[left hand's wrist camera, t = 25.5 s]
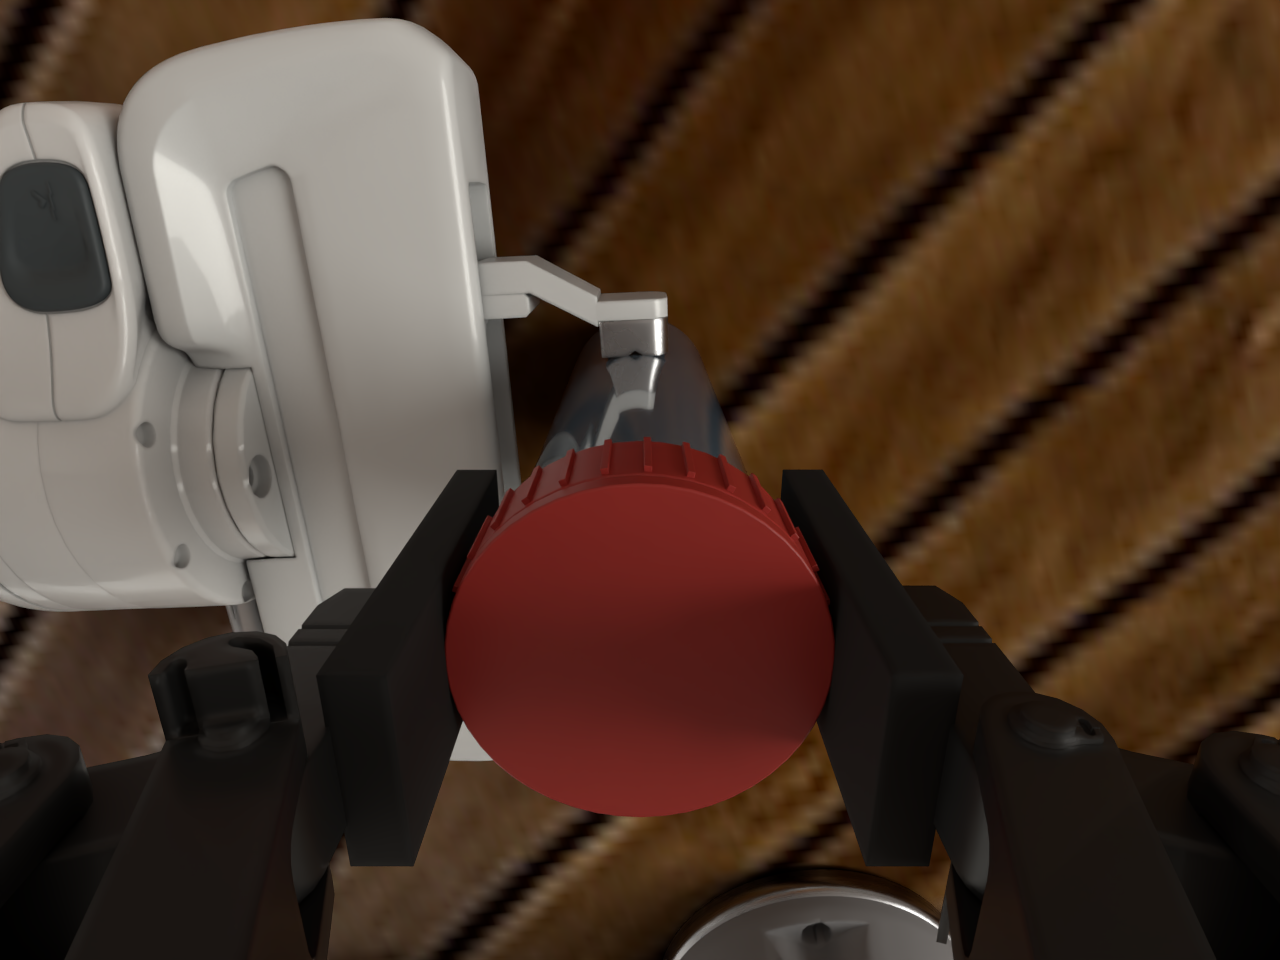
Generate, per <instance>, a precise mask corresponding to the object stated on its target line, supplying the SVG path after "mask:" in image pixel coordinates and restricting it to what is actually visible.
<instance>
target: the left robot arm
mask: <svg viewBox="0 0 1280 960" xmlns="http://www.w3.org/2000/svg"><path fill="white" fill-rule="evenodd" d="M781 501H782V503H783V505H784V507H785V509H786V511H787V513H788V515H789V517H790V519H791V521H792V523H793V526H794V528H796V527H799V529H800V531H801V533H802V535H803V537H804V539H805V541H806V543H807V545H808V548H809V550H810V552H811V554H812V556H813V558H814V560H815V562H816V564H817V566H818V568H819V571H817V574H818V576H819V578H820V580H821V582H822V584H823V586H824V588H825V590H826V592H827V594H828V597H829V599H830V605H828V607H829V610H830V614H831V617H832V622H833V630H834V637H835V652H834V663H833V672H832V680H831V686H830V689H829V692H828V695H827V698H826V701H825V704H824V707H823V709H822V711H821V713H820V715H819V717H818V719H817V724H818V727H819V730H820V732H821V735H822V738H823V741H824V744H825V747H826V750H827V753H828V756H829V759H830V762H831V765H832V768H833V771H834V774H835V776H836V779H837V782H838V785H839V788H840V791H841V794H842V797H843V800H844V803H845V806H846V809H847V812H848V815H849V817H850V820H851V823H852V826H853V829H854V832H855V835H856V838H857V841H858V844H859V847H860V850H861V853H862V856H863V859H864V861H865V864H866V866H929V863H930V857H931V852H932V846H933V841H934V835H935V830H937V832H938V834H939V836H940V838H941V841H942V843H943V845H944V847H945V849H946V851H947V853H948V855H949V857H950V860H951V865H950V870H949V875H948V880H947V885H946V890H945V895H944V901H943V906H942V911H941V913H940V912H939V911H938V910H937V909H936V908H935V907H934V906H933V905H931V904H930V903H929V902H928V901H926V900H925V899H924V898H922V897H921V896H920V895H918V894H916V893H915V892H913V891H911V890H909V889H908V888H906V887H903V886H901V885H899V884H897V883H895V882H892V881H889V880H886V879H883V878H880V877H876V876H873V875H869V874H864V873H859V872H853V871H844V870H827V869H817V870H801V871H793V872H786V873H781V874H776V875H771V876H768V877H764V878H761V879H757V880H754V881H752V882H749V883H746V884H743V885H741V886H739V887H736V888H734V889H732V890H730V891H728V892H726V893H724V894H722V895H721V896H719V897H717V898H715V899H714V900H712V901H711V902H709V903H708V904H706V905H705V906H704V907H702V908H701V909H700V910H699V911H697V912H696V913H695V914H694V915H693V916H692V917H691V918H690V919H689V920H688V921H687V922H686V923H685V924H684V925H683V926H682V927H681V928H680V930H679V931H678V932H677V933H676V935H675V936H674V938H673V939H672V941H671V943H670V944H669V946H668V948H667V950H666V952H665V955H664V958H663V960H1280V739H1279V740H1277V739H1276V738H1274V737H1270V736H1265V735H1260V734H1253V733H1245V732H1238V731H1229V732H1221V733H1213V734H1211V735H1210V736H1209V737H1207V738H1206V739H1205V740H1203V741H1202V742H1201V745H1200V748H1199V751H1198V754H1197V757H1196V760H1195V763H1194V765H1193V764H1189V763H1184V762H1179V761H1174V760H1169V759H1164V758H1160V757H1155V756H1150V755H1145V754H1140V753H1135V752H1131V751H1128V750H1124V749H1120V748H1118V747H1117V745H1116V743H1115V741H1114V739H1113V738H1112V736H1111V735H1110V734H1109V733H1108V731H1107V730H1106V729H1105V727H1104V726H1103V725H1102V724H1101V723H1100V722H1099V721H1097V720H1096V719H1094V718H1093V717H1092V716H1090V715H1089V714H1088V713H1086V712H1085V711H1083V710H1082V709H1080V708H1077V707H1075V706H1073V705H1071V704H1069V703H1066V702H1064V701H1062V700H1060V699H1057V698H1053V697H1049V696H1045V695H1041V694H1037V693H1035V692H1034V691H1033V689H1032V688H1031V687H1030V686H1029V684H1028V683H1027V682H1026V681H1025V680H1024V678H1023V677H1022V676H1021V675H1020V673H1019V672H1018V671H1017V670H1016V668H1015V667H1014V666H1013V665H1012V663H1011V662H1010V661H1009V660H1008V658H1007V657H1006V656H1005V655H1004V654H1003V652H1002V651H1001V650H1000V649H999V647H998V646H997V645H996V644H995V643H992V639H991V637H990V636H989V635H988V634H987V632H986V631H985V630H984V629H983V628H982V626H979V625H978V621H977V620H976V619H975V618H974V616H973V615H972V614H971V613H970V611H969V610H968V609H967V608H966V606H965V605H964V604H963V603H962V602H961V601H959V600H957V599H956V598H954V597H953V596H951V595H949V594H948V593H946V592H945V591H943V590H941V589H940V588H938V587H937V586H902V585H901V583H900V582H899V580H898V579H897V578H896V576H895V575H894V573H893V572H892V570H891V569H890V567H889V566H888V564H887V563H886V561H885V560H884V559H883V557H882V556H881V554H880V553H879V551H878V550H877V548H876V547H875V545H874V544H873V543H872V541H871V540H870V538H869V537H868V535H867V534H866V532H865V531H864V529H863V528H862V526H861V525H860V524H859V522H858V521H857V519H856V518H855V516H854V515H853V513H852V512H851V510H850V509H849V508H848V506H847V505H846V503H845V502H844V500H843V499H842V497H841V496H840V494H839V493H838V491H837V490H836V489H835V487H834V486H833V484H832V483H831V481H830V480H829V478H828V477H827V475H826V474H825V473H824V471H823V470H783V475H782V489H781ZM498 508H499V495H498V481H497V470H456V472H455V473H454V475H453V476H452V478H451V479H450V481H449V482H448V484H447V485H446V487H445V488H444V489H443V491H442V492H441V494H440V495H439V497H438V498H437V500H436V501H435V503H434V504H433V505H432V507H431V508H430V510H429V511H428V513H427V514H426V516H425V517H424V519H423V520H422V521H421V523H420V524H419V526H418V527H417V529H416V530H415V532H414V533H413V535H412V536H411V538H410V539H409V540H408V542H407V543H406V545H405V546H404V548H403V549H402V551H401V552H400V554H399V555H398V556H397V558H396V559H395V561H394V562H393V564H392V565H391V567H390V568H389V570H388V571H387V572H386V574H385V575H384V577H383V578H382V580H381V581H380V583H379V584H378V586H377V587H376V588H344V589H342V590H341V591H339V592H338V593H336V594H334V595H333V596H331V597H330V598H328V599H327V600H325V601H323V602H322V603H320V604H319V605H317V606H316V608H315V609H314V610H313V611H312V613H311V614H310V615H309V616H308V618H307V619H306V620H305V621H304V623H303V624H302V628H301V629H298V630H297V631H296V633H295V634H294V635H293V636H292V638H291V639H290V640H289V641H288V646H287V645H286V643H285V642H284V641H283V640H281V639H280V638H279V637H277V636H276V635H273V634H268V633H264V632H259V631H248V632H232V633H227V634H223V635H218V636H213V637H209V638H206V639H203V640H201V641H198V642H195V643H193V644H190V645H188V646H185V647H183V648H181V649H179V650H178V651H176V652H174V653H173V654H171V655H170V656H168V657H166V658H165V659H163V660H162V661H161V662H160V663H159V664H158V665H157V666H156V667H155V668H154V669H153V670H152V671H151V673H150V674H149V675H148V677H149V681H150V685H151V688H152V692H153V695H154V699H155V703H156V706H157V710H158V714H159V717H160V721H161V724H162V728H163V732H164V735H165V739H166V742H165V744H164V746H163V748H162V751H161V752H157V753H153V754H150V755H146V756H141V757H136V758H131V759H127V760H122V761H117V762H112V763H107V764H103V765H98V766H93V767H88V768H86V765H85V762H84V759H83V756H82V753H81V750H80V747H79V745H78V744H76V743H75V742H74V741H72V740H71V739H70V738H68V737H64V736H56V735H48V734H46V735H38V736H31V737H24V738H17V739H13V740H9V741H5V743H2V744H1V743H0V960H327V954H328V946H329V937H330V929H331V920H332V912H333V903H334V888H333V881H332V875H331V870H330V865H329V862H330V860H331V858H332V856H333V854H334V852H335V850H336V848H337V845H338V843H339V841H340V839H341V837H342V835H343V833H344V832H345V838H346V843H347V849H348V854H349V860H350V865H351V866H414V863H415V860H416V857H417V854H418V851H419V848H420V846H421V843H422V840H423V837H424V834H425V831H426V828H427V825H428V822H429V819H430V816H431V813H432V810H433V807H434V804H435V802H436V799H437V796H438V793H439V790H440V787H441V784H442V781H443V778H444V775H445V772H446V769H447V766H448V763H449V761H450V758H451V755H452V752H453V749H454V746H455V743H456V740H457V737H458V734H459V731H460V728H461V725H462V722H463V720H462V718H461V716H460V714H459V712H458V710H457V708H456V705H455V702H454V699H453V697H452V694H451V691H450V688H449V683H448V675H447V667H446V657H445V633H446V624H447V619H448V616H449V612H450V608H451V605H452V601H453V599H454V596H455V594H456V593H455V592H452V589H453V586H454V584H455V582H456V580H457V578H458V576H459V574H460V572H461V570H462V567H463V565H464V563H465V561H466V559H467V555H468V553H469V551H470V549H471V547H472V545H473V543H474V541H475V539H476V537H477V535H478V533H479V531H480V529H481V527H482V525H483V523H484V521H485V519H486V517H487V516H488V515H489V516H491V517H492V518H493V516H494V515H495V513H496V512H497V510H498Z"/></svg>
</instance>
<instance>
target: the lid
mask: <svg viewBox="0 0 1280 960" xmlns="http://www.w3.org/2000/svg"><path fill="white" fill-rule="evenodd" d="M817 571H819V568H818V566H817V564H816V562H815V560H814V558H813V556H812V554H811V552H810V550H809V548H808V545H807V543H806V541H805V539H804V537H803V535H802V533H801V531H800V529H799V527H796V528H794V526H793V523H792V521H791V519H790V517H789V515H788V513H787V511H786V509H785V507H784V505H783V503H782V501H781V500H780V499H779V498H777V499H776V500H775V501H774V500H773V499H772V497H771V496H770V495H769V494H768V493H767V492H766V491H765V490H764V489H763V488H762V487H761V485H760V483H759V480H758V478H757V476H755V475H754V474H753V473H752V474H751V475H750V476H748V475H746V474H745V473H743V472H742V471H740V470H738V469H737V468H735V467H734V466H732V465H730V464H729V463H727V460H726V457H725V456H723V455H721V454H719V456H718V458H716V457H714V456H712V455H710V454H708V453H704V452H701V451H698V450H695V449H692V448H690V443H687V442H683V443H682V446H680V445H675V444H669V443H663V442H651V437H644V440H643V441H630V442H617V443H612V439H607V440H604V445H600V446H595V447H590V448H587V449H584V450H581V451H578V452H575V450H574V449H570V450H568V451H567V453H566V456H565V457H563V458H561V459H559V460H557V461H555V462H553V463H551V464H549V465H547V466H546V467H544V468H543V469H542V468H541V467H540V465H538V466H537V467H535V468H534V469H533V472H532V474H531V477H529V478H528V479H527V480H526V481H524V482H523V483H522V484H521V485H520V486H519V487H518V488H517V489H515V490H512V489H511V488H509V489H508V490H507V491H506V493H505V495H504V497H503V500H502V502H501V504H500V506H499V508H498V510H497V512H496V513H495V515H494V516H493V518H492V517H491V516H489V515H488V516H487V517H486V519H485V521H484V523H483V525H482V527H481V529H480V531H479V533H478V535H477V537H476V539H475V541H474V543H473V545H472V547H471V549H470V551H469V553H468V555H467V559H466V561H465V563H464V565H463V567H462V570H461V572H460V574H459V576H458V578H457V580H456V582H455V584H454V586H453V589H452V592H455V593H456V594H455V596H454V599H453V601H452V605H451V608H450V612H449V616H448V619H447V624H446V633H445V657H446V667H447V675H448V683H449V688H450V691H451V694H452V697H453V699H454V702H455V705H456V708H457V710H458V712H459V714H460V716H461V718H462V720H463V721H464V723H465V725H466V727H467V729H468V730H469V732H470V733H471V734H472V736H473V737H474V739H475V740H476V741H477V743H478V744H479V746H480V747H481V748H482V749H483V750H484V751H485V752H486V753H487V754H488V755H489V756H490V757H491V759H492V760H493V761H494V762H495V763H496V764H498V765H499V766H500V767H501V768H503V769H504V770H505V771H506V772H507V773H509V774H510V775H511V776H512V777H514V778H515V779H517V780H518V781H520V782H521V783H523V784H524V785H526V786H528V787H529V788H531V789H532V790H534V791H536V792H538V793H540V794H542V795H544V796H546V797H548V798H551V799H553V800H556V801H558V802H561V803H564V804H566V805H569V806H572V807H575V808H579V809H583V810H587V811H591V812H595V813H601V814H608V815H615V816H631V817H650V816H666V815H672V814H678V813H684V812H689V811H693V810H697V809H700V808H704V807H707V806H711V805H713V804H716V803H719V802H721V801H724V800H726V799H729V798H731V797H733V796H735V795H737V794H739V793H741V792H743V791H745V790H747V789H749V788H751V787H752V786H754V785H755V784H757V783H758V782H760V781H761V780H763V779H764V778H766V777H767V776H769V775H770V774H771V773H772V772H774V771H775V770H776V769H777V768H778V767H779V766H780V765H782V764H783V763H784V762H785V761H786V760H787V759H788V758H789V757H790V756H791V755H792V754H793V753H794V752H795V750H796V749H797V748H798V747H799V746H800V745H801V744H802V742H803V741H804V739H805V738H806V737H807V735H808V734H809V732H810V731H811V729H812V728H813V726H814V725H815V723H816V721H817V719H818V717H819V715H820V713H821V711H822V709H823V707H824V704H825V701H826V698H827V695H828V692H829V689H830V686H831V680H832V672H833V663H834V652H835V637H834V630H833V622H832V617H831V614H830V610H829V607H828V605H830V599H829V597H828V594H827V592H826V590H825V588H824V586H823V584H822V582H821V580H820V578H819V576H818V574H817Z"/></svg>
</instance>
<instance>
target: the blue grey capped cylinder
mask: <svg viewBox="0 0 1280 960" xmlns="http://www.w3.org/2000/svg"><path fill="white" fill-rule="evenodd" d="M644 437H651V442H663V443H669V444H675V445H680V446H682V443H683V442H687V443H690V448H692V449H695V450H698V451H701V452H704V453H708V454H710V455H712V456H714V457H716V458H718V456H719V454H721V455H723V456H725V457H726V460H727V463H729V464H730V465H732V466H734V467H735V468H737V469H738V470H740V471H742V472H743V473H745V474H746V475H747V472H746V470H745V467H744V464H743V462H742V459H741V457H740V454H739V452H738V449H737V447H736V444H735V442H734V439H733V437H732V434H731V432H730V429H729V427H728V424H727V422H726V419H725V417H724V414H723V412H722V409H721V407H720V404H719V402H718V399H717V397H716V394H715V392H714V389H713V387H712V384H711V382H710V379H709V377H708V374H707V372H706V369H705V367H704V364H703V362H702V359H701V357H700V355H699V353H698V351H697V349H696V347H695V346H694V344H693V343H692V342H691V340H690V339H689V338H688V337H687V336H686V335H685V334H684V333H683V332H682V331H680V330H679V329H677V328H676V327H674V326H673V325H671V324H669V323H668V353H666V354H663V355H656V356H645V355H641V354H640V353H638V352H637V351H634V352H633V353H631V354H630V355H629V356H625V357H614V358H602V352H601V340H600V330H599V331H598V332H597V333H596V334H594V335H593V336H592V337H591V338H590V340H589V341H588V342H587V343H586V345H585V346H584V348H583V350H582V351H581V353H580V356H579V358H578V360H577V363H576V365H575V368H574V370H573V373H572V375H571V378H570V380H569V383H568V385H567V388H566V390H565V393H564V395H563V398H562V400H561V403H560V405H559V408H558V410H557V413H556V415H555V418H554V420H553V423H552V425H551V428H550V430H549V433H548V435H547V438H546V440H545V443H544V446H543V448H542V451H541V453H540V456H539V458H538V461H537V463H536V466H535V467H537V466H538V465H540V467H541V468H542V469H543V468H544V467H546V466H547V465H549V464H551V463H553V462H555V461H557V460H559V459H561V458H563V457H565V456H566V453H567V451H568V450H570V449H574V450H575V452H578V451H581V450H584V449H587V448H590V447H595V446H600V445H604V440H607V439H612V443H617V442H630V441H643V440H644Z"/></svg>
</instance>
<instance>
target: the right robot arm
mask: <svg viewBox="0 0 1280 960" xmlns="http://www.w3.org/2000/svg"><path fill="white" fill-rule="evenodd" d="M540 299H542V300H544V301H546V302H548V303H550V304H552V305H554V306H556V307H558V308H560V309H562V310H564V311H566V312H568V313H570V314H572V315H574V316H576V317H578V318H580V319H582V320H585V321H587V322H589V323H591V324H593V325H595V326H597V327H598V326H599V328H600V340H601V352H602V358H614V357H625V356H629V355H630V354H631V353H633V352H634V351H637V352H638V353H640V354H641V355H645V356H656V355H663V354H666V353H668V315H667V295H666V293H665V292H655V291H651V292H629V293H607V294H601V291H600V289H599V288H597V287H595V286H593V285H592V284H590V283H588V282H586V281H584V280H582V279H580V278H578V277H576V276H575V275H573V274H571V273H569V272H567V271H565V270H563V269H561V268H560V267H558V266H556V265H554V264H552V263H550V262H548V261H546V260H544V259H543V258H541V257H539V256H537V255H534V256H513V257H497V256H496V247H495V238H494V229H493V220H492V211H491V201H490V192H489V183H488V174H487V165H486V156H485V146H484V137H483V128H482V119H481V110H480V100H479V92H478V84H477V80H476V77H475V75H474V73H473V71H472V70H471V68H470V67H469V66H468V65H467V64H466V63H465V62H464V61H463V60H462V59H461V58H460V57H459V56H458V55H457V54H456V53H455V52H454V51H453V50H452V49H451V48H450V47H449V46H448V45H447V44H446V43H444V42H443V41H442V40H441V39H440V38H438V37H437V36H435V35H434V34H432V33H431V32H430V31H428V30H427V29H425V28H424V27H422V26H419V25H417V24H415V23H413V22H410V21H405V20H401V19H390V18H377V19H358V20H349V21H339V22H330V23H321V24H314V25H307V26H300V27H293V28H287V29H281V30H276V31H270V32H265V33H259V34H254V35H249V36H245V37H240V38H236V39H232V40H227V41H223V42H219V43H215V44H211V45H207V46H203V47H199V48H196V49H193V50H189V51H186V52H183V53H180V54H178V55H175V56H173V57H171V58H169V59H166V60H165V61H163V62H161V63H159V64H158V65H156V66H154V67H153V68H152V69H150V70H149V71H148V72H146V73H145V74H144V75H143V76H142V77H141V78H140V79H139V80H138V81H137V82H136V83H135V84H134V86H133V87H132V89H131V90H130V92H129V93H128V95H127V97H126V99H125V101H124V103H123V105H120V104H112V103H99V102H84V101H45V102H26V103H18V104H13V105H10V106H8V107H5V108H3V109H2V110H0V601H3V602H6V603H9V604H13V605H16V606H20V607H25V608H29V609H36V610H43V611H55V612H60V611H91V610H114V609H139V608H173V607H198V606H222V605H225V606H226V610H227V613H228V617H229V620H230V624H231V628H232V631H233V632H248V631H259V632H264V633H268V634H273V635H276V636H277V637H279V638H280V639H281V640H283V641H284V642H285V643H286V645H287V646H288V641H289V640H290V639H291V638H292V636H293V635H294V634H295V633H296V631H297V630H298V629H301V628H302V624H303V623H304V621H305V620H306V619H307V618H308V616H309V615H310V614H311V613H312V611H313V610H314V609H315V608H316V606H317V605H319V604H320V603H322V602H323V601H325V600H327V599H328V598H330V597H331V596H333V595H334V594H336V593H338V592H339V591H341V590H342V589H344V588H376V587H377V586H378V584H379V583H380V581H381V580H382V578H383V577H384V575H385V574H386V572H387V571H388V570H389V568H390V567H391V565H392V564H393V562H394V561H395V559H396V558H397V556H398V555H399V554H400V552H401V551H402V549H403V548H404V546H405V545H406V543H407V542H408V540H409V539H410V538H411V536H412V535H413V533H414V532H415V530H416V529H417V527H418V526H419V524H420V523H421V521H422V520H423V519H424V517H425V516H426V514H427V513H428V511H429V510H430V508H431V507H432V505H433V504H434V503H435V501H436V500H437V498H438V497H439V495H440V494H441V492H442V491H443V489H444V488H445V487H446V485H447V484H448V482H449V481H450V479H451V478H452V476H453V475H454V473H455V472H456V470H497V481H498V495H499V506H500V504H501V502H502V500H503V497H504V495H505V493H506V491H507V490H508V489H509V488H511V489H512V490H515V489H517V488H518V487H519V486H520V485H521V476H520V467H519V458H518V449H517V440H516V431H515V421H514V412H513V403H512V394H511V385H510V376H509V366H508V357H507V348H506V339H505V330H504V321H503V318H521V317H527V316H528V315H529V314H530V313H531V312H532V311H533V310H534V309H535V307H536V306H537V305H538V304H539V303H540ZM450 760H453V761H490V760H492V759H491V757H490V756H489V755H488V754H487V753H486V752H485V751H484V750H483V749H482V748H481V747H480V746H479V744H478V743H477V741H476V740H475V739H474V737H473V736H472V734H471V733H470V732H469V730H468V729H467V727H466V725H465V723H464V721H463V722H462V725H461V728H460V731H459V734H458V737H457V740H456V743H455V746H454V749H453V752H452V755H451V758H450Z"/></svg>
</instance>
